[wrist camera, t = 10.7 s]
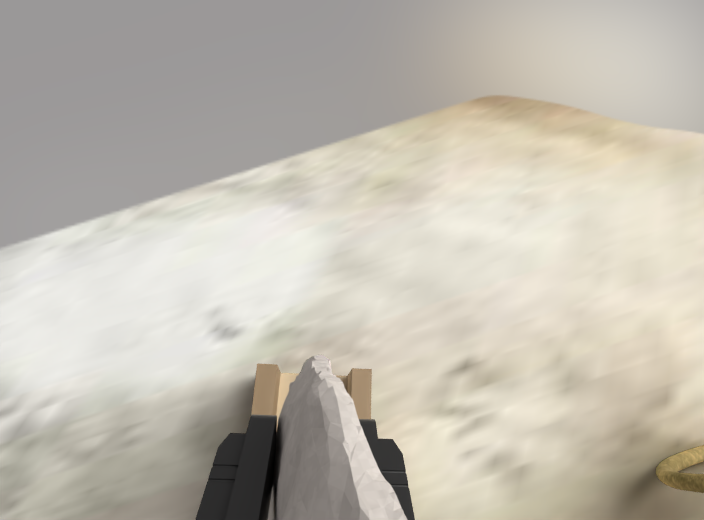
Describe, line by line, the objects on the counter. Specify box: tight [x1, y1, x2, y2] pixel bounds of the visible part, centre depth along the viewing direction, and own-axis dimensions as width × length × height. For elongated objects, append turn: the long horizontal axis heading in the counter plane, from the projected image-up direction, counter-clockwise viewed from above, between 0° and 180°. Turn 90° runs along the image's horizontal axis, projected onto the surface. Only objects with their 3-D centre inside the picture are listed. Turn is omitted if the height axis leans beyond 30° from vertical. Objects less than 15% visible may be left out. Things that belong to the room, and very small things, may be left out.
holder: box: [251, 364, 372, 426], centre depth 26 cm, size 7×12×4 cm, turn 178°
